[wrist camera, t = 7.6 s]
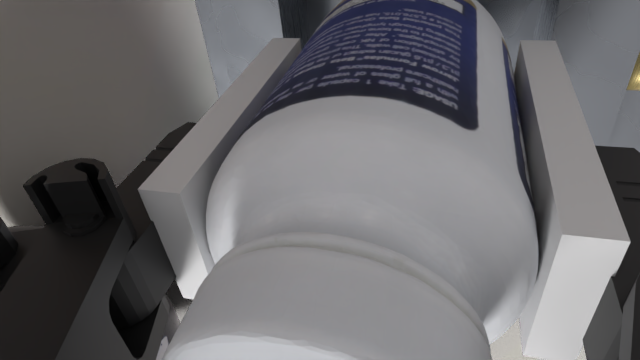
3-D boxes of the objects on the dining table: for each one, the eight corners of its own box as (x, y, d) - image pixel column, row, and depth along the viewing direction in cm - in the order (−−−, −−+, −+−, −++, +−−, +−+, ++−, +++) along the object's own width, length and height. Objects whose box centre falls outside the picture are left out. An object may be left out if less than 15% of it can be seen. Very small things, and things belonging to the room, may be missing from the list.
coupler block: (243, 150, 21) (209, 199, 18) (176, -149, 14) (106, -141, 11) (617, 178, 17) (645, 246, 14) (769, -214, 10) (875, -224, 8)
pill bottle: (276, 70, 14) (43, 370, 6) (410, -82, 10) (255, 172, 3) (401, 183, 15) (331, 539, 8) (554, 80, 12) (694, 530, 4)
